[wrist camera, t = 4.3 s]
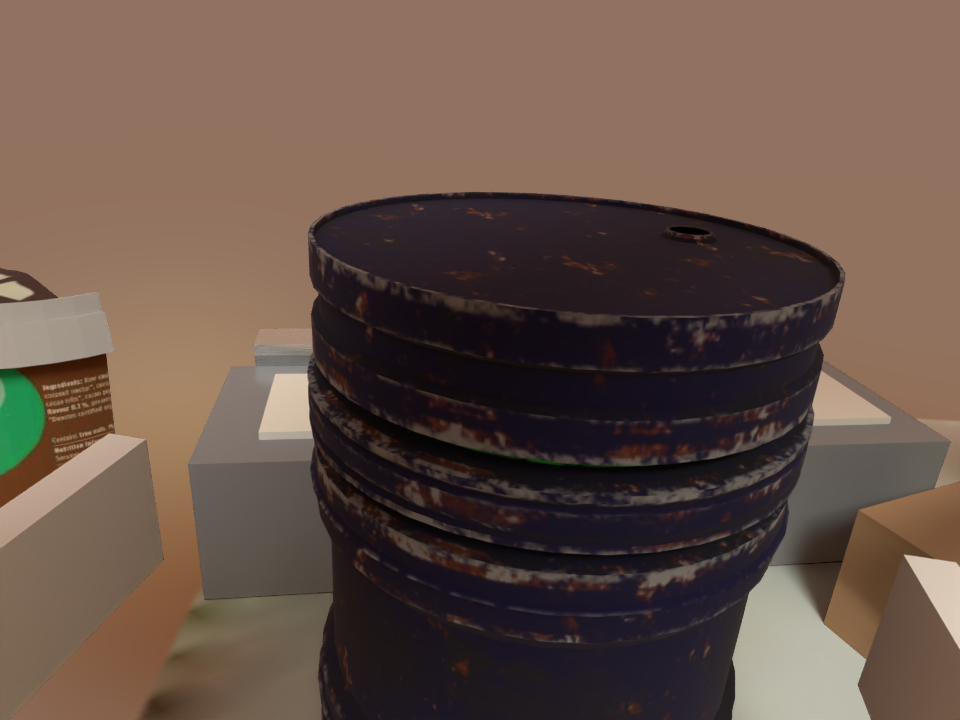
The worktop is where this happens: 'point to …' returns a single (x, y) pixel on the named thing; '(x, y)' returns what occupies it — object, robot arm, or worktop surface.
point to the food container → (49, 380)
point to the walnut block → (890, 557)
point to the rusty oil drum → (552, 450)
